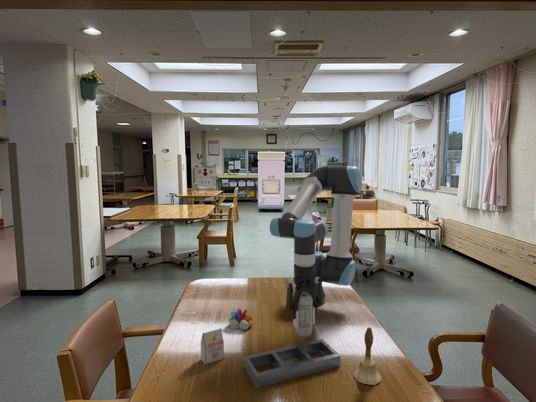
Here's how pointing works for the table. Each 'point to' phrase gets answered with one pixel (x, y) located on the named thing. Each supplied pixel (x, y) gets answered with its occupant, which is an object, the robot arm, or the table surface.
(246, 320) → the rainbow disc toy
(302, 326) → the energy drink can
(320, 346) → the rack
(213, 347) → the white printed box
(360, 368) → the hand bell
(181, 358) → the table surface
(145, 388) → the table surface
